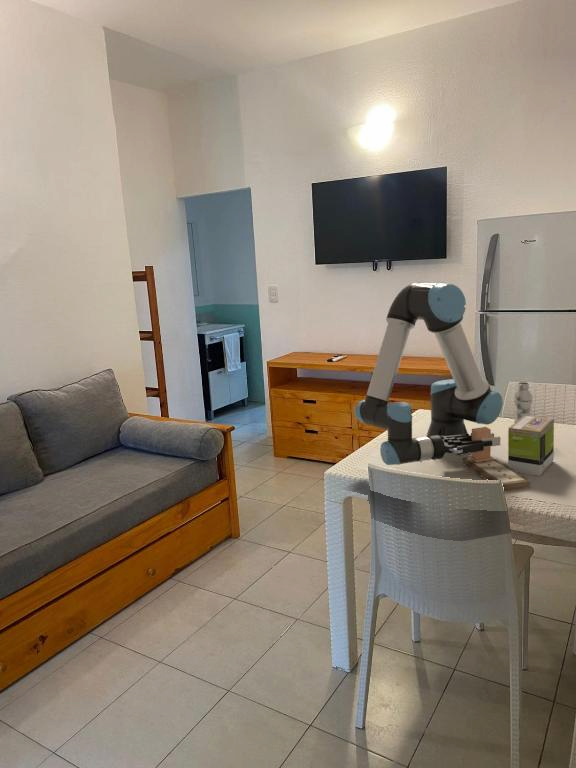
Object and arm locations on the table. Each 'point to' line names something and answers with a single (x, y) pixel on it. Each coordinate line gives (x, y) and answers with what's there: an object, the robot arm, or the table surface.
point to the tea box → (531, 445)
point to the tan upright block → (485, 454)
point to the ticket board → (497, 473)
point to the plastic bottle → (522, 401)
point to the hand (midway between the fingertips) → (496, 439)
